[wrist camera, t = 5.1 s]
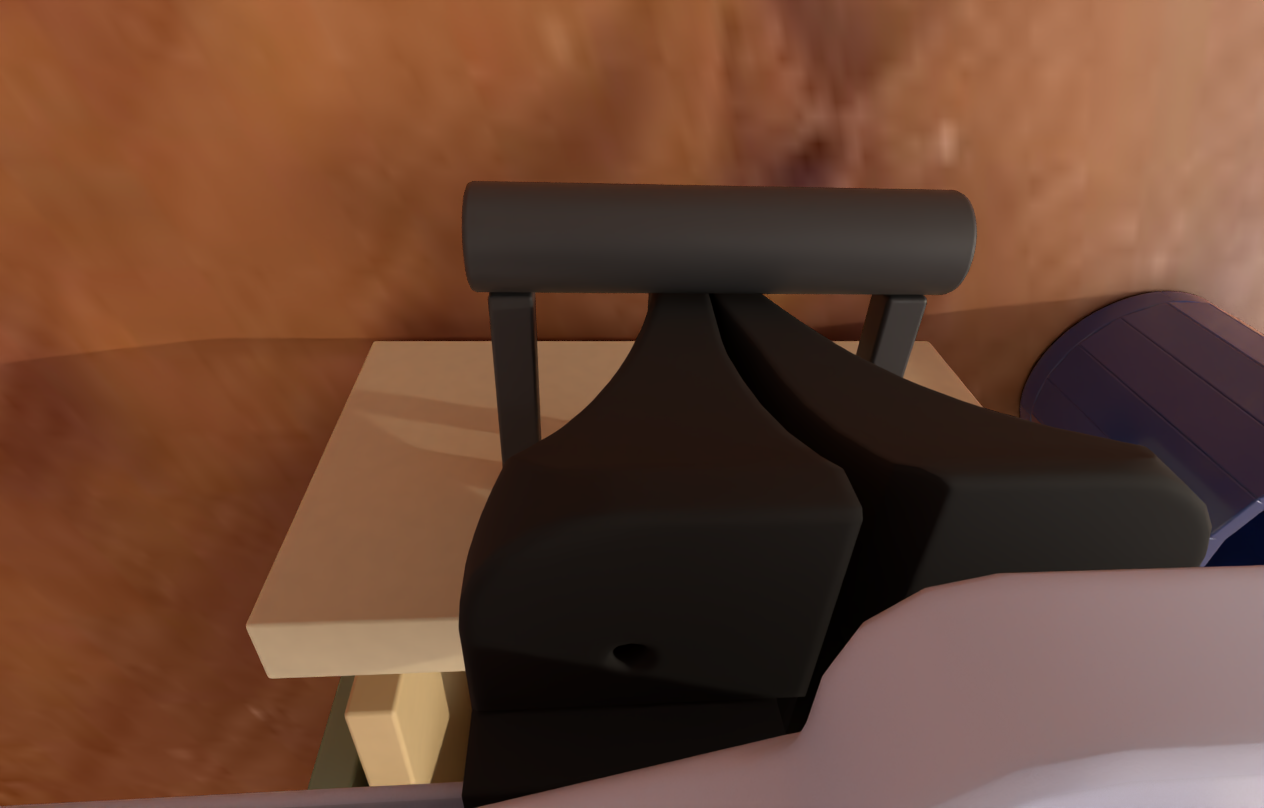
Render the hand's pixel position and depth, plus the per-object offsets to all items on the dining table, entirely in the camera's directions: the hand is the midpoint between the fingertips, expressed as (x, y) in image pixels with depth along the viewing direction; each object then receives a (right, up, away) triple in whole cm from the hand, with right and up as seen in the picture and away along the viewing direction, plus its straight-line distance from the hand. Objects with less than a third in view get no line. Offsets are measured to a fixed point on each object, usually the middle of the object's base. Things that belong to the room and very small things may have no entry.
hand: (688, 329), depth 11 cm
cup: (+12, -1, +7) cm, 14 cm away
